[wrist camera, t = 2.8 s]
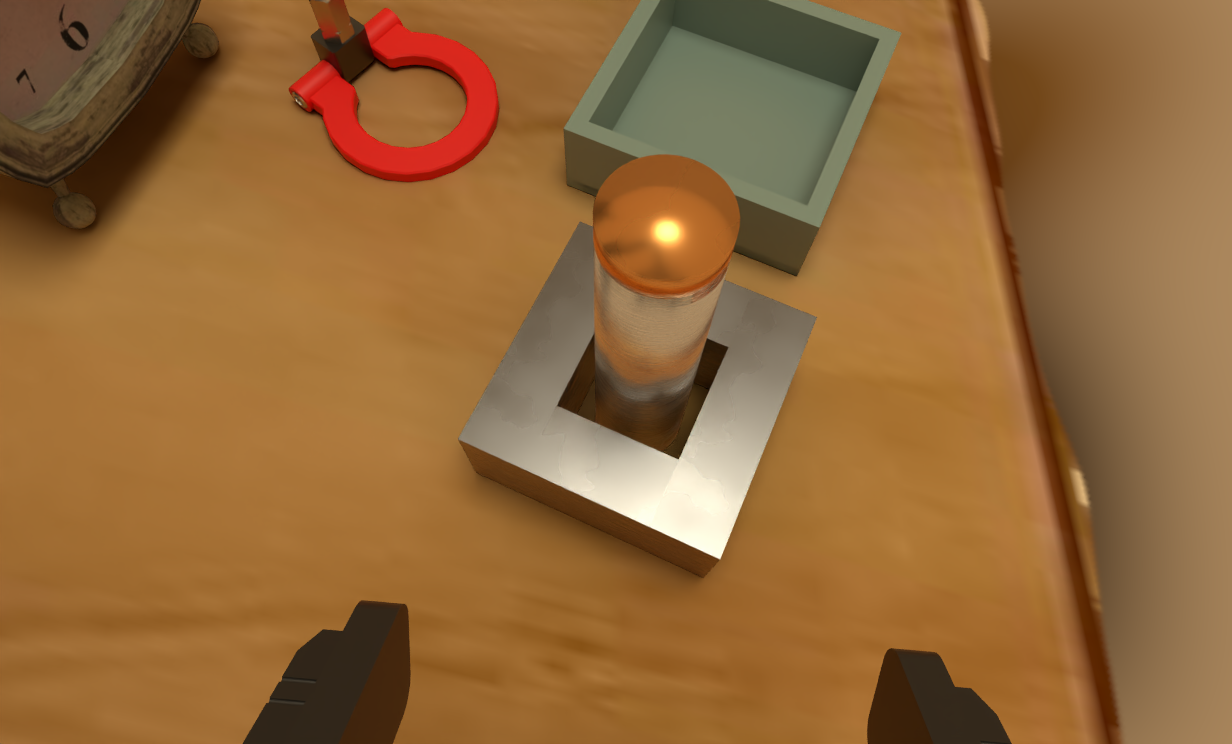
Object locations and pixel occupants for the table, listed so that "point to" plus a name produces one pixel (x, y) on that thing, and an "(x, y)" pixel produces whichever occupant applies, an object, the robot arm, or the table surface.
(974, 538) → the table surface
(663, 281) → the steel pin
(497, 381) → the block
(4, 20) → the tabletop clock
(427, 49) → the tow hook
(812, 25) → the tray
